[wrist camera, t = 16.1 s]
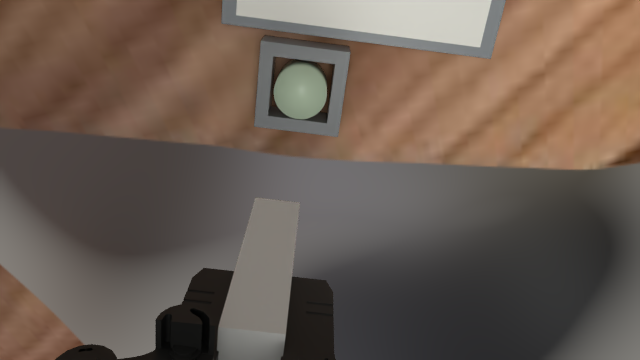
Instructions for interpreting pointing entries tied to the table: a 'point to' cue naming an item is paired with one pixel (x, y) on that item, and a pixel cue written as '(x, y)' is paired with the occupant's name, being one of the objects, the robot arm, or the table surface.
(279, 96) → the button
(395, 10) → the picture board
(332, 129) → the button housing
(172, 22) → the table surface
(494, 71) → the table surface
